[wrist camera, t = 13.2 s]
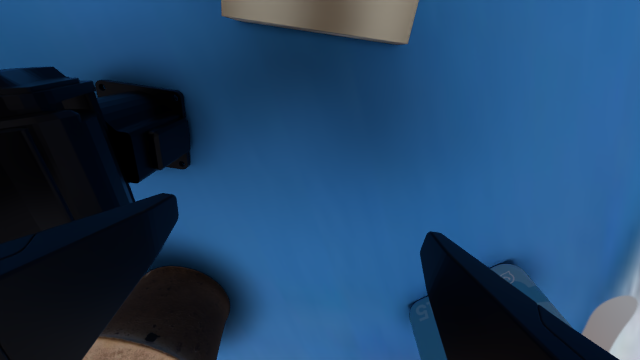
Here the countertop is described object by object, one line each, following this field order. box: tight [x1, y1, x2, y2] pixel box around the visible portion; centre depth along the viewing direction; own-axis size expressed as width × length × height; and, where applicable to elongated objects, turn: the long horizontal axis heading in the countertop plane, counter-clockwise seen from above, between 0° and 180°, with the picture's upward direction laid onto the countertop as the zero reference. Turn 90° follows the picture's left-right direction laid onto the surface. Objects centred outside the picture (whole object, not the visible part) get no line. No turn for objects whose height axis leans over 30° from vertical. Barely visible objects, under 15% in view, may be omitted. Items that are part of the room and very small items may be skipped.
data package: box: [409, 264, 572, 360], centre depth 23 cm, size 12×4×12 cm, turn 129°
